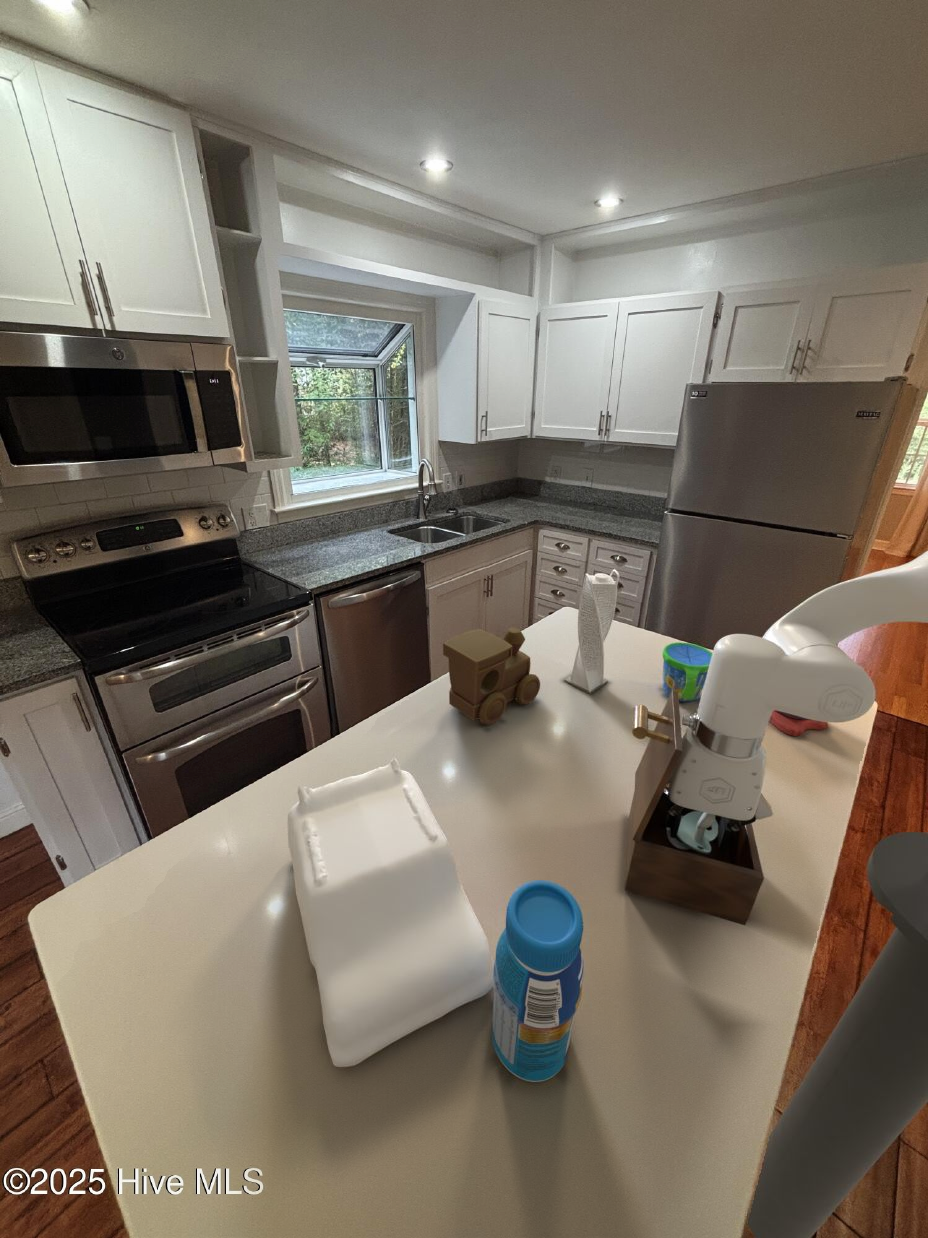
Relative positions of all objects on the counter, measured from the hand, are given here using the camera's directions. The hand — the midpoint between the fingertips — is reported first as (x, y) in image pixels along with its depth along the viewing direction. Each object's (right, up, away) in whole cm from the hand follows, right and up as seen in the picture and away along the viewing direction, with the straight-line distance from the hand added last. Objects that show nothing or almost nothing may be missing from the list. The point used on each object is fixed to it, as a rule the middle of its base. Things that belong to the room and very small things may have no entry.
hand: (696, 835), depth 69 cm
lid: (-7, +11, -4) cm, 13 cm away
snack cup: (+16, +13, +42) cm, 46 cm away
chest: (-1, -5, +2) cm, 6 cm away
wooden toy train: (-26, +12, +37) cm, 47 cm away
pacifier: (-1, -1, +1) cm, 1 cm away
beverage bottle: (-25, -14, -17) cm, 33 cm away
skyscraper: (-4, +15, +45) cm, 47 cm away
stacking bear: (+35, +9, +34) cm, 49 cm away
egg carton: (-43, -8, -4) cm, 44 cm away
